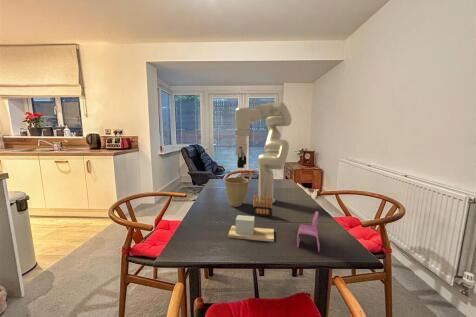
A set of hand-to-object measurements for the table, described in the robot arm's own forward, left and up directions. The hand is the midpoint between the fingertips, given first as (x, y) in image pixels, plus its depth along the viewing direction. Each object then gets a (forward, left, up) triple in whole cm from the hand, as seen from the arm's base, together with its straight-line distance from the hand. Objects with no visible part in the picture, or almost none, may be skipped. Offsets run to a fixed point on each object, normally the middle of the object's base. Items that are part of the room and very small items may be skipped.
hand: (242, 166), depth 109 cm
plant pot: (-18, -6, -28) cm, 34 cm away
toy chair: (+22, +31, -29) cm, 48 cm away
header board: (+17, +7, -28) cm, 34 cm away
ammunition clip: (-5, +11, -29) cm, 31 cm away
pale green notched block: (+17, +4, -27) cm, 32 cm away
